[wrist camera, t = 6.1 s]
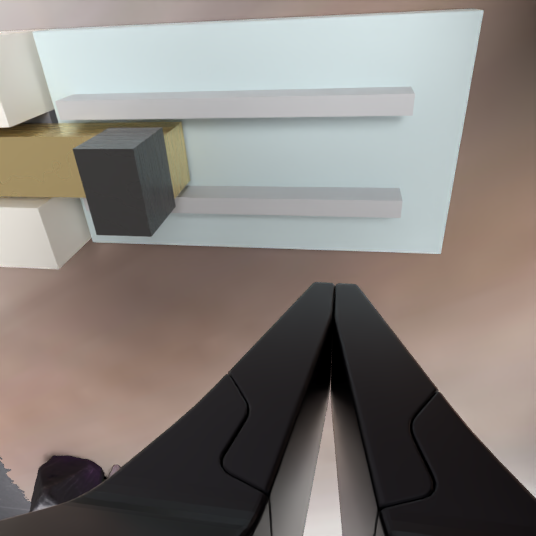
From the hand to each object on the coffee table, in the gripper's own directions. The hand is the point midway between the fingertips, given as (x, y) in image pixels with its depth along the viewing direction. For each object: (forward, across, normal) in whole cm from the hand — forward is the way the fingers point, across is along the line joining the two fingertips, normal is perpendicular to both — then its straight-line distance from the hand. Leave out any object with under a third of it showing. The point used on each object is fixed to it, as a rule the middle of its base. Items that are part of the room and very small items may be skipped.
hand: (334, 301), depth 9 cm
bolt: (+10, +11, 0) cm, 15 cm away
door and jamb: (+12, +7, 0) cm, 13 cm away
